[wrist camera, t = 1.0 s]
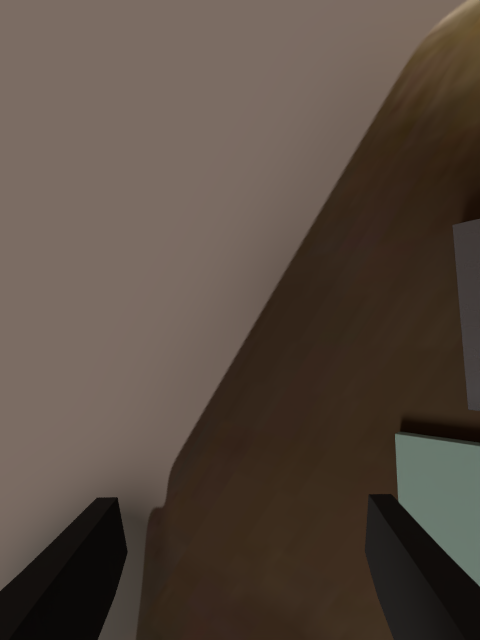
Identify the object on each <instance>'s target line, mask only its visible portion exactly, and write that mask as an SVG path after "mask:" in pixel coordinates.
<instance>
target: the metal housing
mask: <svg viewBox="0 0 480 640" xmlns="http://www.w3.org/2000/svg"><path fill="white" fill-rule="evenodd" d="M453 236H454V248H455V259H456V271H457V283H458V294H459V306H460V317H461V329H462V341H463V352H464V364H465V376H466V387H467V399H468V410H479V411H480V219H476V220H472V221H468V222H464V223H459V224H455V225H453Z"/></svg>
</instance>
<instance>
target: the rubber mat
mask: <svg viewBox="0 0 480 640" xmlns="http://www.w3.org/2000/svg"><path fill="white" fill-rule="evenodd" d="M395 442H396V462H397V481H398V500H399V503H400V504H401V505H402V506H403V507H404V508H405V509H406V510H407V512H408V513H409V514H410V515H411V516H412V517H413V518H414V519H415V520H416V521H417V522H418V523H419V524H420V526H421V527H422V528H423V529H424V530H425V531H426V532H427V533H428V534H429V535H430V536H431V537H432V538H433V539H434V540H435V542H436V543H437V544H438V545H439V546H440V547H441V548H442V549H443V550H444V551H445V552H446V553H447V554H448V555H449V556H450V557H451V558H452V559H453V560H454V561H455V562H456V563H457V564H458V565H459V566H460V567H461V568H462V569H463V570H464V571H465V572H466V573H467V574H468V575H469V576H470V577H471V578H472V579H473V580H474V581H475V582H476V583H477V584H478V585H479V586H480V443H478V442H470V441H463V440H456V439H449V438H442V437H435V436H427V435H420V434H413V433H406V432H398V433H396V434H395Z"/></svg>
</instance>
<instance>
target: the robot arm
mask: <svg viewBox="0 0 480 640" xmlns="http://www.w3.org/2000/svg"><path fill="white" fill-rule="evenodd" d="M365 553H366V557H367V560H368V564H369V568H370V571H371V575H372V578H373V582H374V585H375V589H376V592H377V596H378V599H379V601H380V604H381V607H382V609H383V612H384V615H385V617H386V620H387V622H388V625H389V628H390V630H391V633H392V636H393V638H394V640H480V586H479V585H478V584H477V583H476V582H475V581H474V580H473V579H472V578H471V577H470V576H469V575H468V574H467V573H466V572H465V571H464V570H463V569H462V568H461V567H460V566H459V565H458V564H457V563H456V562H455V561H454V560H453V559H452V558H451V557H450V556H449V555H448V554H447V553H446V552H445V551H444V550H443V549H442V548H441V547H440V546H439V545H438V544H437V543H436V542H435V540H434V539H433V538H432V537H431V536H430V535H429V534H428V533H427V532H426V531H425V530H424V529H423V528H422V527H421V526H420V524H419V523H418V522H417V521H416V520H415V519H414V518H413V517H412V516H411V515H410V514H409V513H408V512H407V510H406V509H405V508H404V507H403V506H402V505H401V504H400V503H399V502H398V501H397V500H396V499H395V498H394V497H393V496H392V495H391V494H369V499H368V514H367V529H366V544H365ZM126 556H127V546H126V541H125V535H124V530H123V525H122V519H121V514H120V508H119V503H118V498H117V497H116V498H115V497H112V498H96V499H95V500H94V501H93V502H92V503H91V504H90V505H89V506H88V507H87V508H86V509H85V510H84V511H83V512H82V513H81V514H80V515H79V516H78V517H77V518H76V519H75V520H74V521H73V522H72V523H71V524H70V525H69V526H68V527H67V528H66V529H65V530H64V531H63V532H62V533H61V534H60V535H59V536H58V537H57V538H56V539H55V540H54V541H53V542H52V543H51V544H50V545H49V546H48V547H47V548H46V549H45V550H44V551H43V552H42V553H40V554H39V555H38V556H37V557H36V558H35V559H34V560H33V561H32V562H31V563H30V564H29V565H28V566H27V567H26V568H25V569H24V570H23V571H22V572H21V573H20V574H19V575H17V576H16V577H15V578H14V579H13V580H12V581H11V582H10V583H9V584H8V585H6V586H5V587H4V588H3V589H2V590H1V591H0V640H98V637H99V635H100V632H101V630H102V627H103V625H104V622H105V619H106V617H107V615H108V612H109V609H110V607H111V604H112V602H113V599H114V597H115V594H116V590H117V587H118V584H119V580H120V577H121V574H122V570H123V566H124V563H125V560H126Z"/></svg>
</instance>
